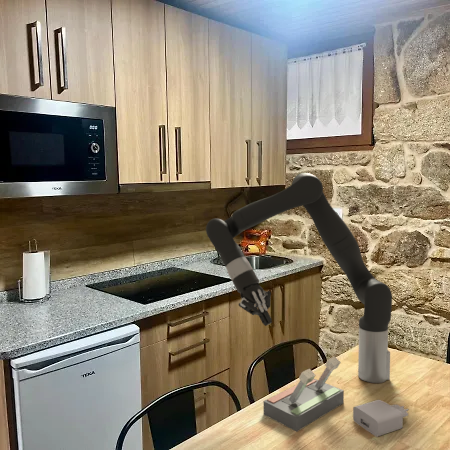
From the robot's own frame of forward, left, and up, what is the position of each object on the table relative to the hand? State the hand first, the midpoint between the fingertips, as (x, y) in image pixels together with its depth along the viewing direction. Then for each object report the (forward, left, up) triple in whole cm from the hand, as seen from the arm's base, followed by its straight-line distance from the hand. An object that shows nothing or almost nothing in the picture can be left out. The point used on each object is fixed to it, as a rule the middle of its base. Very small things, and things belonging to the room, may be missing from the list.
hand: (268, 324), depth 133 cm
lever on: (-13, +6, -19) cm, 24 cm away
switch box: (-8, +9, -23) cm, 26 cm away
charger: (-27, +20, -24) cm, 41 cm away
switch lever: (-3, +12, -19) cm, 23 cm away
